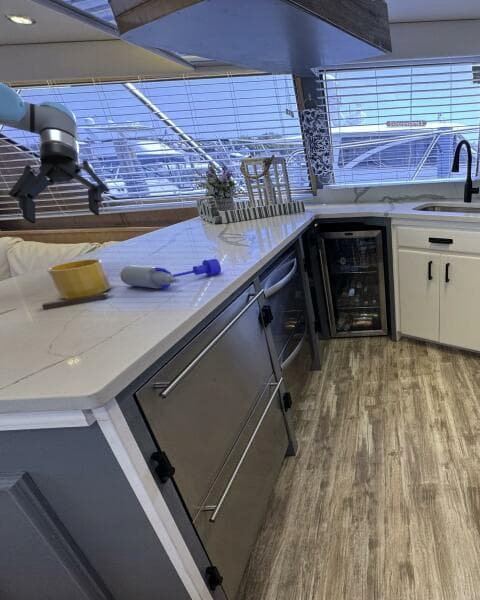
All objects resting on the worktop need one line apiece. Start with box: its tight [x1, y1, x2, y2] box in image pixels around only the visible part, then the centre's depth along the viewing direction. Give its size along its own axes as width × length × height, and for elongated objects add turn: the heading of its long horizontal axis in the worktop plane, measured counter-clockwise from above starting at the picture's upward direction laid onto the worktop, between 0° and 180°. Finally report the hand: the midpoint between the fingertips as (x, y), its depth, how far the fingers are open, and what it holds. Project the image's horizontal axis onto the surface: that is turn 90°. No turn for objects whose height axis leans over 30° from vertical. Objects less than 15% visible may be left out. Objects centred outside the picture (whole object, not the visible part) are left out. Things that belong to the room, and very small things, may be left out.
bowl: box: [46, 258, 112, 299], centre depth 85 cm, size 10×10×8 cm
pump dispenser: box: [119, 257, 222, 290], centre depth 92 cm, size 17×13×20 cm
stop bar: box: [41, 292, 109, 310], centre depth 80 cm, size 12×2×1 cm, turn 119°
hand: (62, 216), depth 83 cm, fingers open, 13 cm apart
